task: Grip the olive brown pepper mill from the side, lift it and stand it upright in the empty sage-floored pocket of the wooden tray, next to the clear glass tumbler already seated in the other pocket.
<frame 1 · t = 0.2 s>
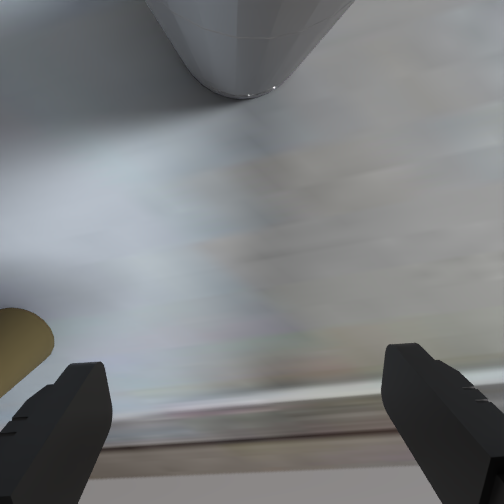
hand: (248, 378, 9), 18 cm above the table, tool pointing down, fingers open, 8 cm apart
olive brown pepper mill: (20, 336, 28), on the table
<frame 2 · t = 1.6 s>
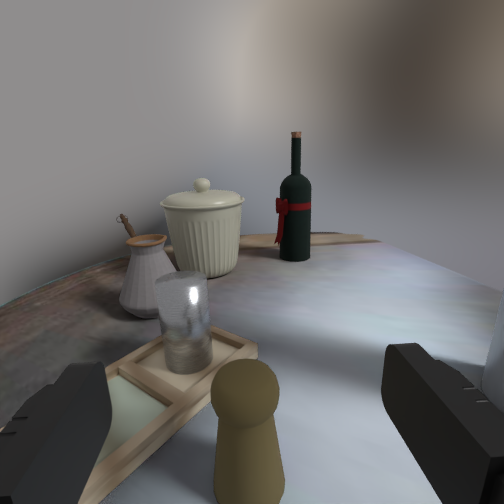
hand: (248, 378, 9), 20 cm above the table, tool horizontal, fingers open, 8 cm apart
canister: (208, 271, 74), on the table
wooden tray: (152, 395, 36), on the table
clear glass tumbler: (189, 358, 41), point 1 cm above the table, touching wooden tray
olive brown pepper mill: (249, 481, 27), on the table
wine bottle: (291, 258, 81), on the table
coffee pot: (147, 299, 61), on the table
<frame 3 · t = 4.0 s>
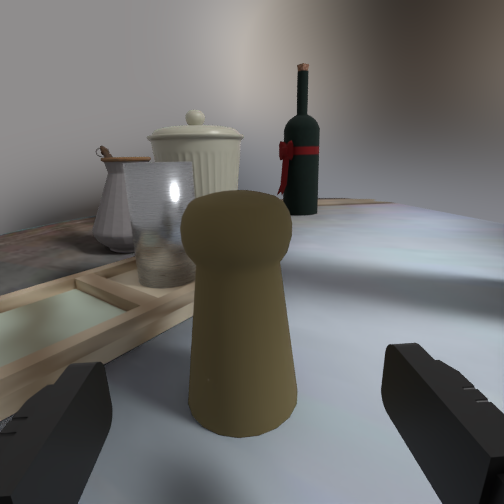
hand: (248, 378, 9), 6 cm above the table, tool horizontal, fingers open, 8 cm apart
canister: (202, 222, 65), on the table
wooden tray: (116, 310, 27), on the table
clear glass tumbler: (170, 276, 32), point 1 cm above the table, touching wooden tray
olive brown pepper mill: (243, 394, 18), on the table
wine bottle: (296, 213, 72), on the table
coffee pot: (128, 240, 52), on the table
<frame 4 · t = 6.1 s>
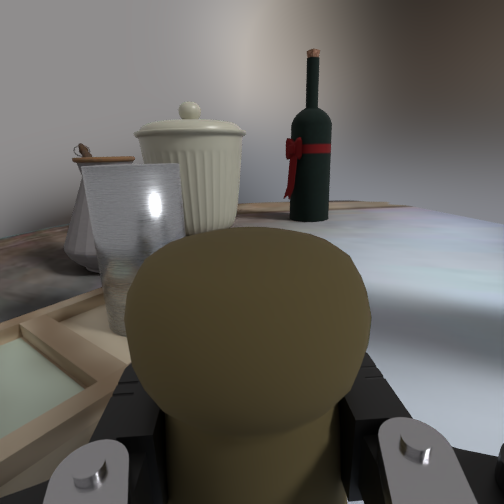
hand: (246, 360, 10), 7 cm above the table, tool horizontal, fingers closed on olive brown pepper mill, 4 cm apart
canister: (198, 230, 57), on the table
wooden tray: (73, 372, 20), on the table
clear glass tumbler: (152, 315, 24), point 1 cm above the table, touching wooden tray
wine bottle: (304, 219, 64), on the table
coffee pot: (111, 255, 44), on the table
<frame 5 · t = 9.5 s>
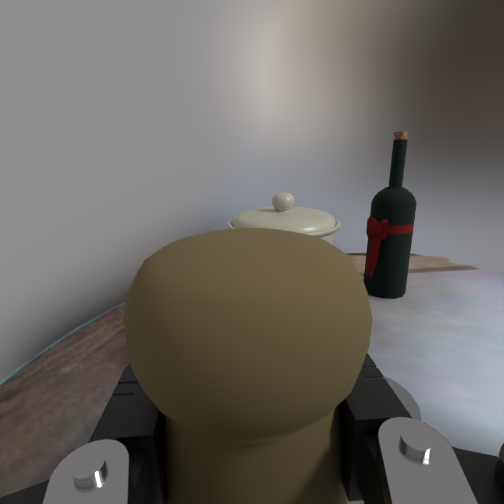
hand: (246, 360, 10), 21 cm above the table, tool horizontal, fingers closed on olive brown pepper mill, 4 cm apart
canister: (282, 312, 56), on the table
wine bottle: (380, 292, 63), on the table
when the fingers open (8 cm above the table, at t = 13.2 s): olive brown pepper mill stays where it is, resting on wooden tray.
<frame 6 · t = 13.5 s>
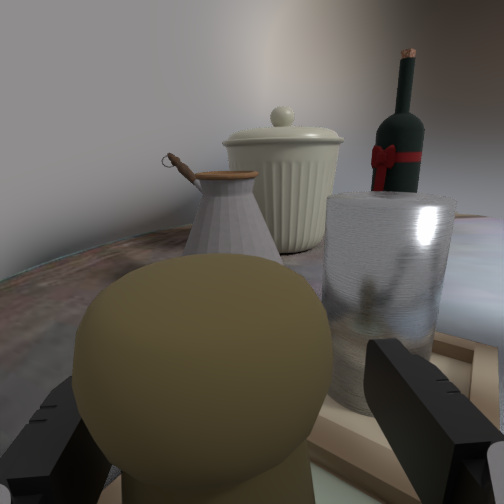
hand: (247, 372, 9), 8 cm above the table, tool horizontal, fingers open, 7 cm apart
canister: (281, 246, 53), on the table
wooden tray: (327, 471, 15), on the table
clear glass tumbler: (368, 379, 19), point 1 cm above the table, touching wooden tray
wine bottle: (385, 232, 60), on the table
coffee pot: (211, 278, 39), on the table
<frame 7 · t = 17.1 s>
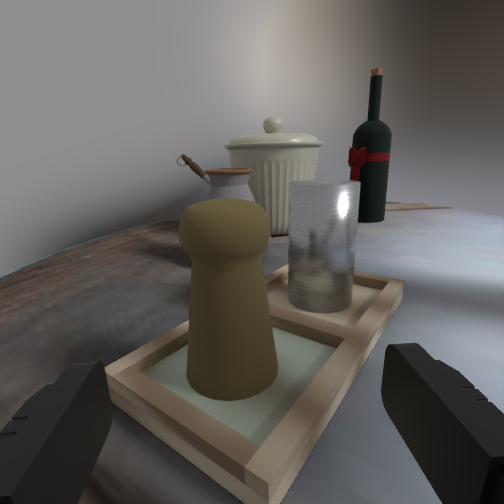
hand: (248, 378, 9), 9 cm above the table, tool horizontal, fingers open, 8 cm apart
canister: (273, 230, 64), on the table
wooden tray: (288, 338, 26), on the table
clear glass tumbler: (319, 298, 30), point 1 cm above the table, touching wooden tray
olive brown pepper mill: (232, 369, 21), point 1 cm above the table, touching wooden tray
wine bottle: (361, 220, 71), on the table
coffee pot: (216, 252, 51), on the table
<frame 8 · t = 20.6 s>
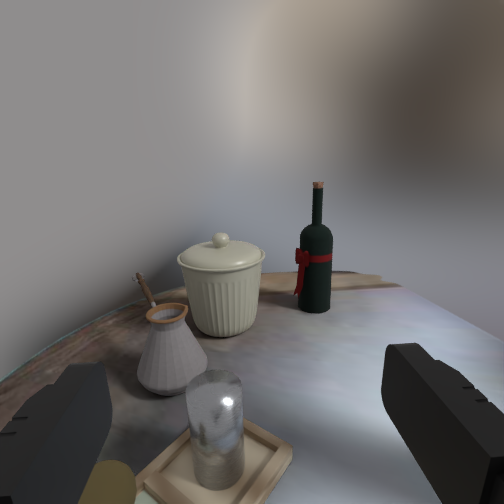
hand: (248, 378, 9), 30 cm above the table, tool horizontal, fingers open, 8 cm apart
canister: (225, 325, 71), on the table
clear glass tumbler: (219, 465, 37), point 1 cm above the table, touching wooden tray
wine bottle: (310, 307, 77), on the table
coffee pot: (164, 365, 57), on the table
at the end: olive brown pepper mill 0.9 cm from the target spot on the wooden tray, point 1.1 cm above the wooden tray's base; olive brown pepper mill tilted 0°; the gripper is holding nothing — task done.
